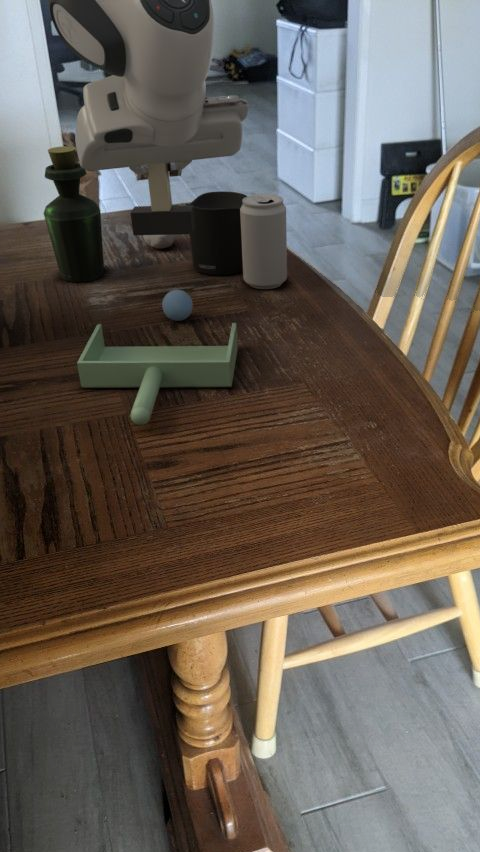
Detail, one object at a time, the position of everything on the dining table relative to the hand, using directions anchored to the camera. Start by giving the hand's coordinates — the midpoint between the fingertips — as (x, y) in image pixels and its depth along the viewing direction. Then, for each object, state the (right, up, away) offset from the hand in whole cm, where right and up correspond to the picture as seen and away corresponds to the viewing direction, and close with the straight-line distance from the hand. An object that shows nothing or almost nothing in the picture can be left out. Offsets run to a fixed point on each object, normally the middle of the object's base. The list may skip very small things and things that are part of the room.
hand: (157, 173), depth 102 cm
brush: (0, -6, +4) cm, 7 cm away
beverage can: (+14, -11, +12) cm, 22 cm away
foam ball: (+3, -19, +2) cm, 19 cm away
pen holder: (+7, -7, +18) cm, 21 cm away
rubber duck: (-3, -2, +27) cm, 27 cm away
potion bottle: (-14, -9, +17) cm, 24 cm away
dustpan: (+2, -30, -14) cm, 33 cm away
